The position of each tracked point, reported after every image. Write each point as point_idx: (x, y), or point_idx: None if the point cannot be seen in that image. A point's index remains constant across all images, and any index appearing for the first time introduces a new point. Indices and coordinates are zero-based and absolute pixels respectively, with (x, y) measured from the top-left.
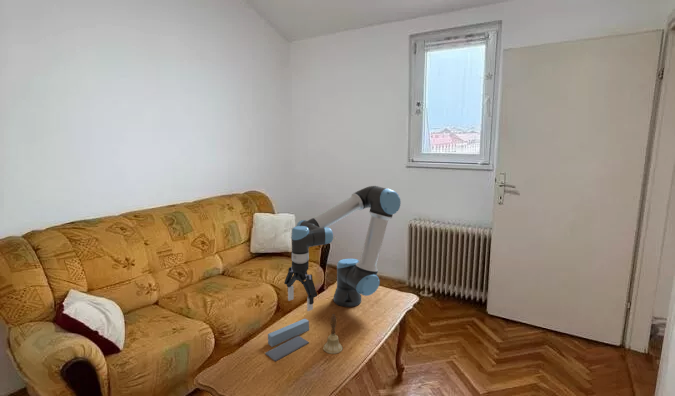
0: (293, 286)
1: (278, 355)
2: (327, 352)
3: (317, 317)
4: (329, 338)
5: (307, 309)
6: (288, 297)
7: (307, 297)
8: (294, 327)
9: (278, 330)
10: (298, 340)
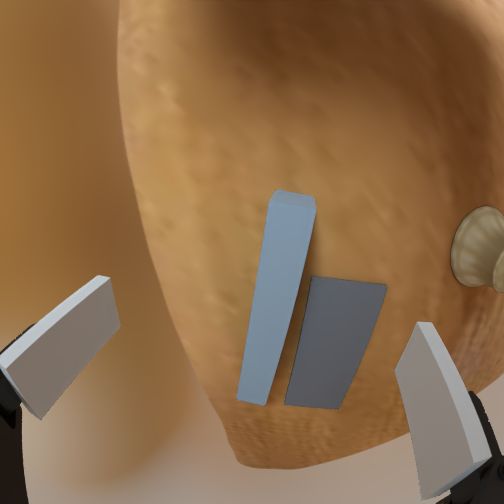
0: (9, 367)
1: (331, 395)
2: (475, 286)
3: (252, 63)
4: (502, 291)
5: (401, 381)
6: (97, 342)
7: (425, 497)
8: (291, 314)
9: (249, 371)
10: (338, 307)
